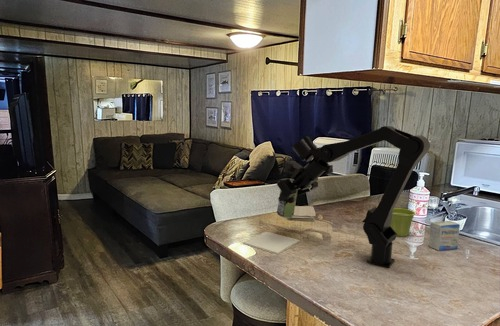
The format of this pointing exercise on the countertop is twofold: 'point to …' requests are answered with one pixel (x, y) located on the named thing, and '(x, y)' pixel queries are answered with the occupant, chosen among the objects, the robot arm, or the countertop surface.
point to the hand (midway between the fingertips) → (284, 198)
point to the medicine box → (444, 235)
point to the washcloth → (303, 213)
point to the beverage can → (286, 207)
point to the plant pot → (401, 221)
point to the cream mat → (271, 242)
